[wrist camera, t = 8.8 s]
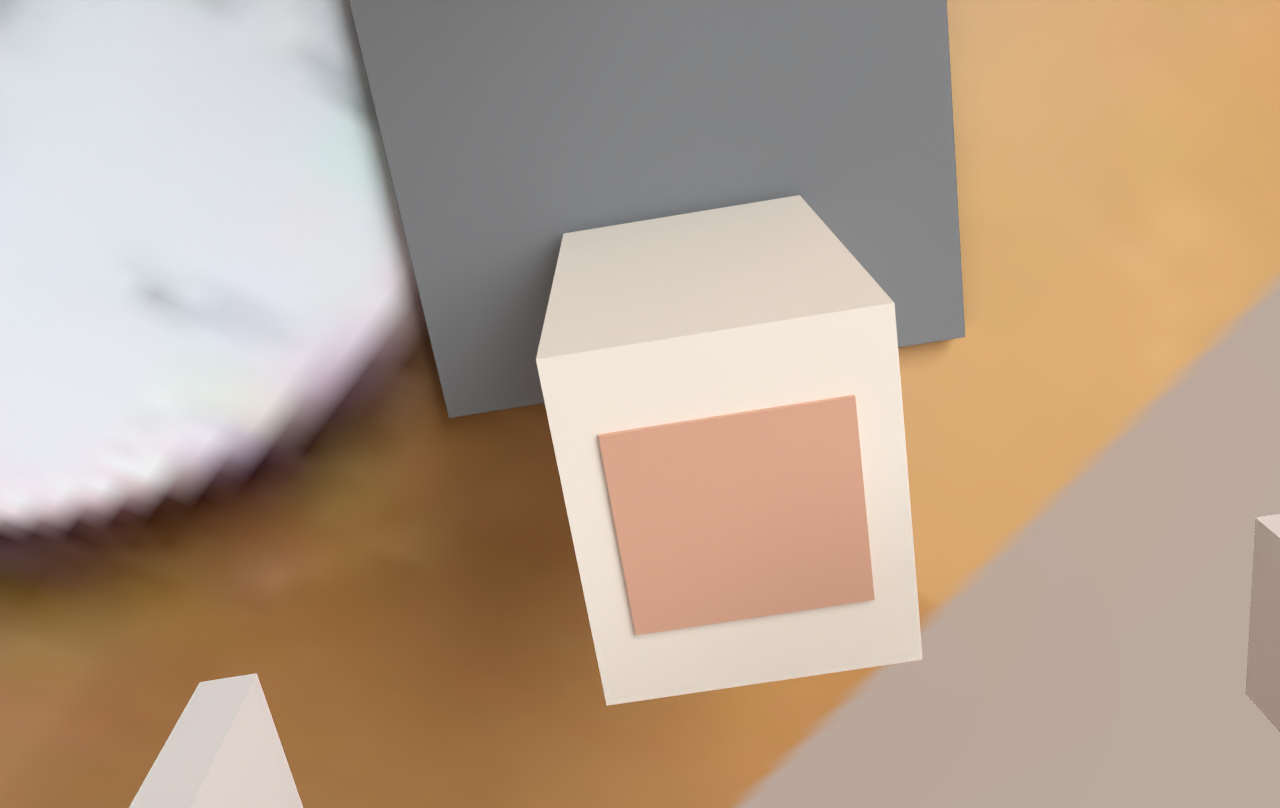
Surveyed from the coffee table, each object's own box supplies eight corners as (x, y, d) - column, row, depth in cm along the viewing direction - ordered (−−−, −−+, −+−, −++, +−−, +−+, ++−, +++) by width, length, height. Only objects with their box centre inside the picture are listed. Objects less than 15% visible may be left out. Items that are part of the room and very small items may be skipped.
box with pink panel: (610, 482, 30) (606, 709, 21) (563, 233, 28) (535, 361, 18) (826, 449, 30) (923, 662, 20) (799, 195, 27) (895, 304, 18)
